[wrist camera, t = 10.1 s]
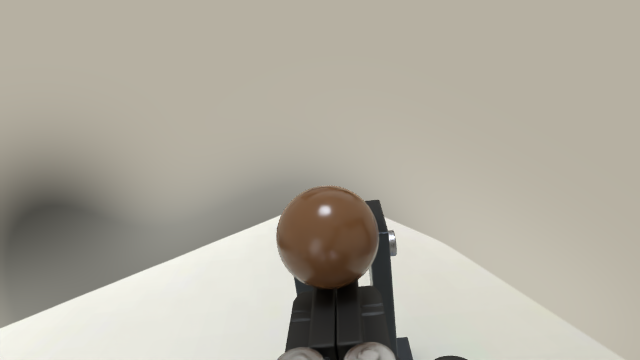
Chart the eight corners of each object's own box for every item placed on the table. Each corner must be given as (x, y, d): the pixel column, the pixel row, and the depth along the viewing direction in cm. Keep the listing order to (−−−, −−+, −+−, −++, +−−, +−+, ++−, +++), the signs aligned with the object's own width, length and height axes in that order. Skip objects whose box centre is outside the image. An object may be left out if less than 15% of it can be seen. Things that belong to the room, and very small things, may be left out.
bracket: (441, 487, 21) (433, 259, 17) (292, 493, 22) (246, 275, 17) (408, 349, 30) (397, 181, 26) (305, 356, 31) (278, 193, 27)
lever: (388, 288, 10) (374, 170, 11) (269, 297, 11) (262, 181, 11) (372, 273, 23) (365, 219, 24) (317, 278, 23) (313, 224, 24)
